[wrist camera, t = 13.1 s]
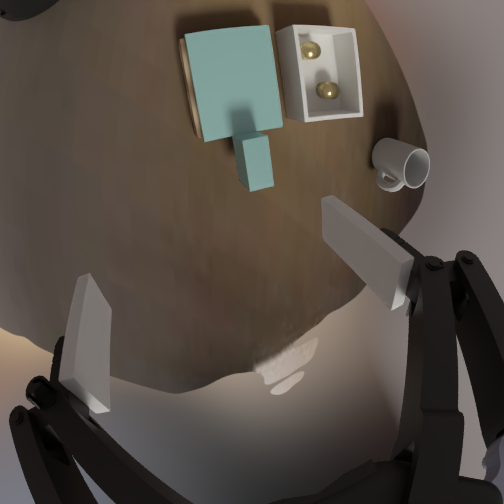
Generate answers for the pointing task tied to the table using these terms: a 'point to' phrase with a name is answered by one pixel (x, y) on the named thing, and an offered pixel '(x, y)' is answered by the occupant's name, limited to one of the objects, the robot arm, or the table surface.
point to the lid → (237, 94)
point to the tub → (320, 72)
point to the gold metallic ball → (310, 50)
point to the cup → (399, 164)
